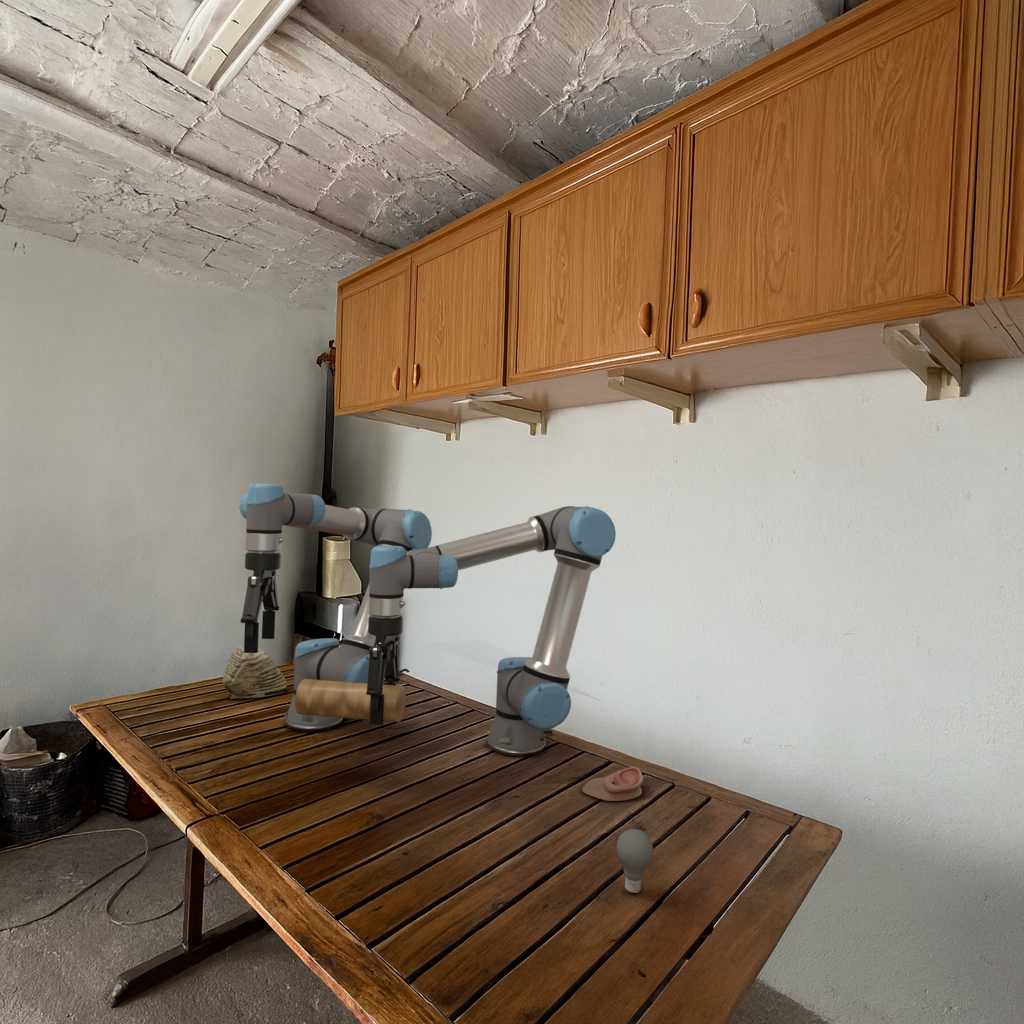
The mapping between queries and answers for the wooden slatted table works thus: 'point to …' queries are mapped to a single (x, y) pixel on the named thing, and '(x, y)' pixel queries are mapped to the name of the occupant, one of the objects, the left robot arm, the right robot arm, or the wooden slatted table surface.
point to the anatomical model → (616, 785)
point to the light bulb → (634, 857)
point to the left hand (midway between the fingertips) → (259, 645)
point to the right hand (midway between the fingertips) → (382, 717)
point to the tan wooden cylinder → (347, 700)
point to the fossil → (252, 675)
